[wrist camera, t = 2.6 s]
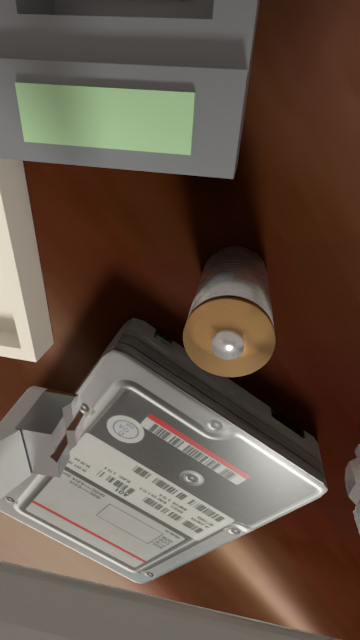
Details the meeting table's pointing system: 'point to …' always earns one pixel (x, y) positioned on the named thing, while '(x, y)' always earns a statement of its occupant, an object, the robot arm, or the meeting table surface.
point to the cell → (231, 315)
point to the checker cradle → (126, 83)
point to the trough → (20, 272)
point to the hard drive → (167, 463)
